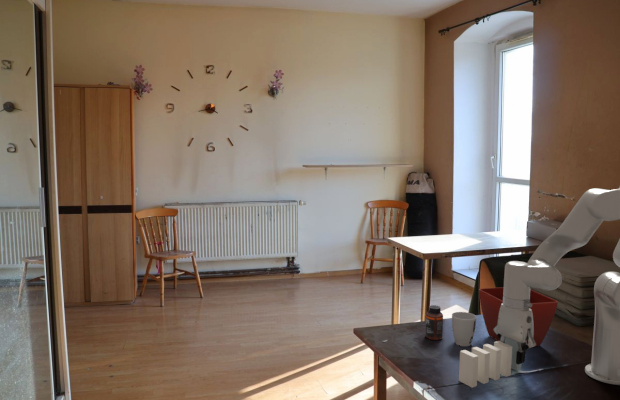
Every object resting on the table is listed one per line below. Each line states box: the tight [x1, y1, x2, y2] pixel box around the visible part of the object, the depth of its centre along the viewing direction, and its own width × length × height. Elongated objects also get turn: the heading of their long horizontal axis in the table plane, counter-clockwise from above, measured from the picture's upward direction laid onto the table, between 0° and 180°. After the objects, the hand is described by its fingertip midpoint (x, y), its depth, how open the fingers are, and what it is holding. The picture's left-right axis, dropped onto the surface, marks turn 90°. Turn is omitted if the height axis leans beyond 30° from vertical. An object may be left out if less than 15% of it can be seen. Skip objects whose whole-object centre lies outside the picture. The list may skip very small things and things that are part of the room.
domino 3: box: [482, 343, 501, 381], centre depth 152 cm, size 5×2×9 cm, turn 30°
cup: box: [451, 311, 477, 347], centre depth 176 cm, size 8×8×10 cm
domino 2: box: [471, 346, 490, 385], centre depth 149 cm, size 5×2×9 cm, turn 30°
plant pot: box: [478, 286, 559, 347], centre depth 179 cm, size 19×19×17 cm
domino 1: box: [458, 349, 478, 388], centre depth 147 cm, size 5×2×9 cm, turn 30°
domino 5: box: [505, 337, 523, 371], centre depth 156 cm, size 5×2×9 cm, turn 30°
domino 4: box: [493, 340, 512, 378], centre depth 154 cm, size 5×2×9 cm, turn 30°
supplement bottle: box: [425, 304, 444, 341], centre depth 181 cm, size 6×6×11 cm
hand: (512, 359), depth 157 cm, fingers closed on domino 5, 4 cm apart
